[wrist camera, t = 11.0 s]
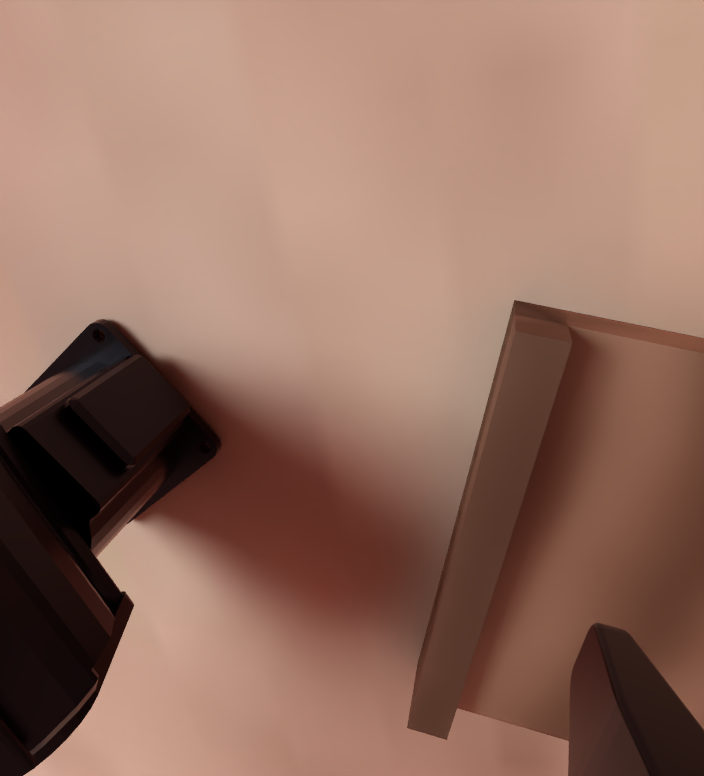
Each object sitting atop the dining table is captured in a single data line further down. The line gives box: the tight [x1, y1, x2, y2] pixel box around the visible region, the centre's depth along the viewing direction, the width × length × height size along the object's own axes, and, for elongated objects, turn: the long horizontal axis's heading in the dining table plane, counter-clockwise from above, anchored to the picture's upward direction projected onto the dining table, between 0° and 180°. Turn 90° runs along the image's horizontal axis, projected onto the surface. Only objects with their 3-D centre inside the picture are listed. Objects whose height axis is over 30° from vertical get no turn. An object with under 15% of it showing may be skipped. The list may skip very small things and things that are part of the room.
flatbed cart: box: [407, 300, 704, 741], centre depth 21 cm, size 13×16×3 cm
